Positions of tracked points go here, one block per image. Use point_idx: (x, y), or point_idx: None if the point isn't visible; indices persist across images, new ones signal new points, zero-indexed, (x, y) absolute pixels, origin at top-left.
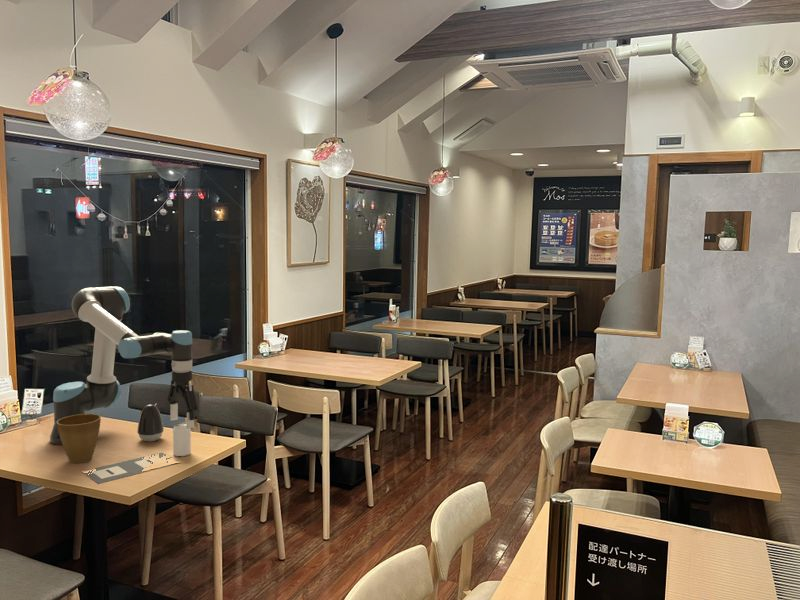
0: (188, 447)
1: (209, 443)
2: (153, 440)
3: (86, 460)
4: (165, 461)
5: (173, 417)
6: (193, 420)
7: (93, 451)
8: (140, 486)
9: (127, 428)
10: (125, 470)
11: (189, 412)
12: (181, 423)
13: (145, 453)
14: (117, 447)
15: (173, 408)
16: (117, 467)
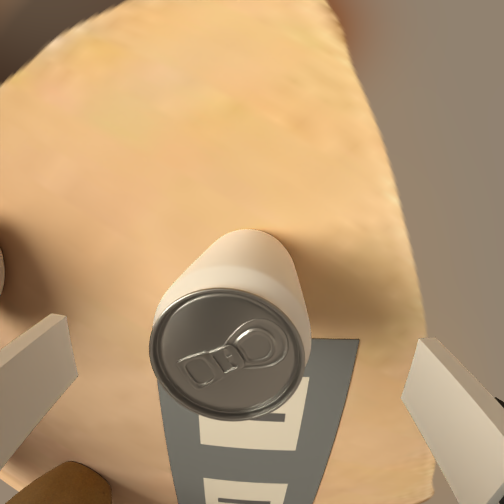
0: (296, 272)
1: (187, 68)
2: (4, 268)
3: (109, 487)
4: None
5: (60, 372)
6: (469, 384)
7: (92, 488)
8: (412, 480)
9: None
10: (264, 481)
11: (498, 494)
12: (160, 326)
13: (119, 370)
14: None
15: (5, 429)
16: (218, 483)
